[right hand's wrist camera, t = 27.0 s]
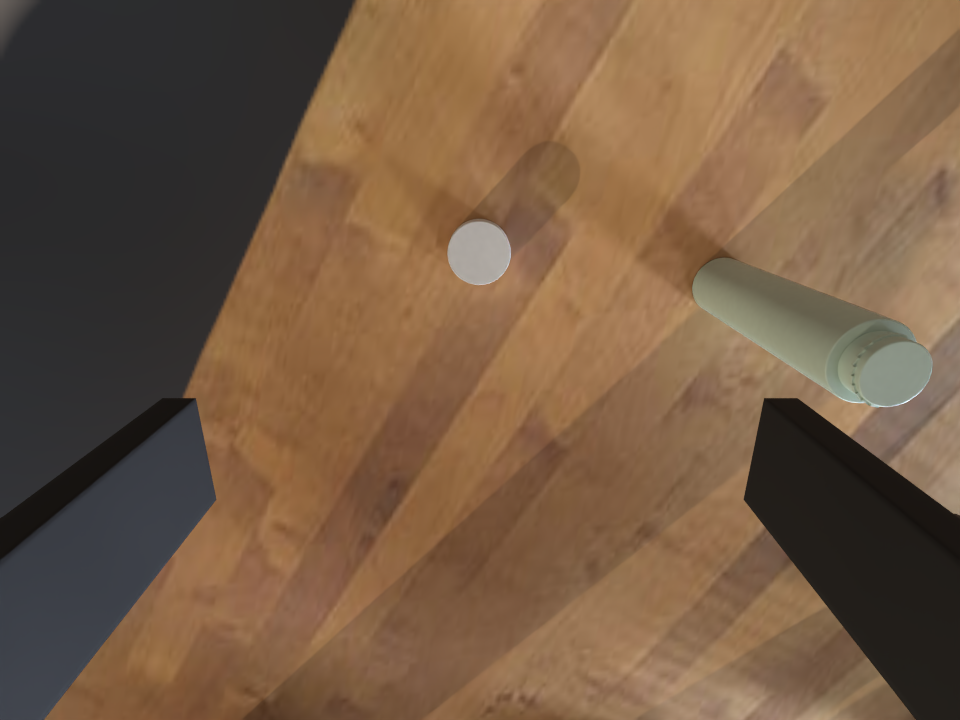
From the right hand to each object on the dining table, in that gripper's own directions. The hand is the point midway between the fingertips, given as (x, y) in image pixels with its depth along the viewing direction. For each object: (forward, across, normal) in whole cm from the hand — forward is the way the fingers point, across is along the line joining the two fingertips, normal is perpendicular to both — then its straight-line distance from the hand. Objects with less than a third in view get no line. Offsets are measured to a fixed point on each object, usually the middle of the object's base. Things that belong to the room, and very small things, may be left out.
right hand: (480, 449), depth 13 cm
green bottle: (+29, +18, -2) cm, 35 cm away
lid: (+28, 0, 0) cm, 28 cm away
